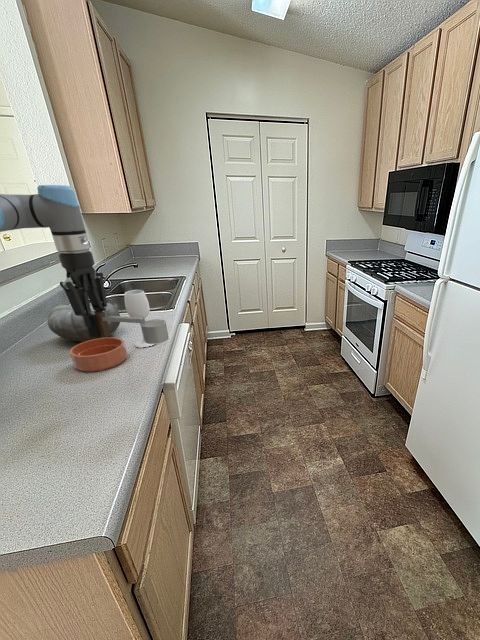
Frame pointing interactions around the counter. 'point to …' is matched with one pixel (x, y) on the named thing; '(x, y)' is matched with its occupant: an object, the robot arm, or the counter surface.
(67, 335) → the gourd
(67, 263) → the robot arm
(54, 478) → the counter surface
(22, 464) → the counter surface
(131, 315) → the wineglass
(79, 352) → the bowl
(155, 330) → the ladle
